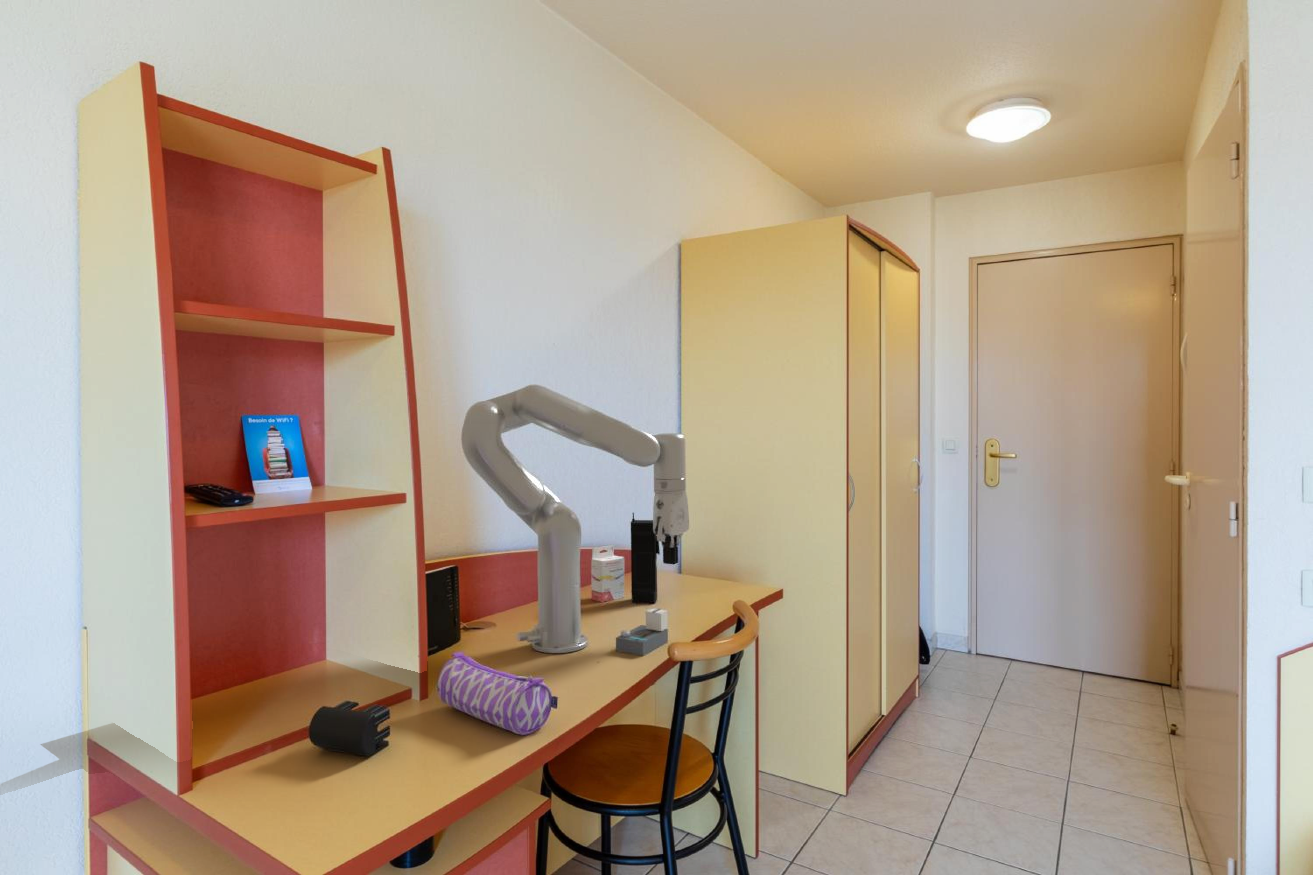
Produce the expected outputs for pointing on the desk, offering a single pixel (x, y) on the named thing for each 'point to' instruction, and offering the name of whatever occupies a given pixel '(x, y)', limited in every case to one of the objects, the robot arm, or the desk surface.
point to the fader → (656, 619)
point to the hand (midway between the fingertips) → (670, 563)
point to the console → (640, 640)
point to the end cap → (350, 729)
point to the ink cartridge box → (606, 574)
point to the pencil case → (495, 695)
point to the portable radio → (643, 562)
